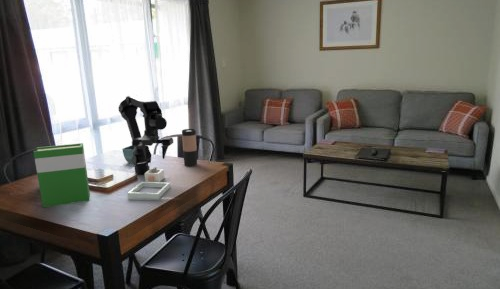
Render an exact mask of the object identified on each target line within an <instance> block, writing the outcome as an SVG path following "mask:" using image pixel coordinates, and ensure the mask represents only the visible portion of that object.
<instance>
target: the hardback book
mask: <svg viewBox="0 0 500 289" xmlns="http://www.w3.org/2000/svg"><path fill="white" fill-rule="evenodd" d="M33 158H34V162H35V168H36V174H37V180H38V185H39V191H40V198H41V204H42V208H47V207H54V206H62V205H68V204H75V203H82V202H88V201H90V199H91V197H90V196H91V193H90V185H89V179H88V178H89V177H88V172H87V164H86V156H85V149H84V143H83V142H82V143H70V144H60V145H50V146H48V145H47V146H39V147H36V150H33Z"/></svg>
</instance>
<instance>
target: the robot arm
mask: <svg viewBox="0 0 500 289" xmlns="http://www.w3.org/2000/svg"><path fill="white" fill-rule="evenodd" d="M138 108H139V109H140V110H139V111H140V112H141V113H142V114H143V115H142V118H143V119H144V120H143V121H144V122H143V123H144V129H145V130H144V132H143V133H144V134H143V135H142V134H141V131H140V128H139V125H138V121H137V118H136V117H137V115H138V114H137V113H138ZM118 112H119V113H120V116H121V118H123V120H125V121H126V124H127V127H128V130H129V133H130V138H131V145H132V146H134V150H133V157H132V159H131V163H130V164H131V165H132V166H134V172H135V175H138V176H143V175H144V176H145V173H146V172H147V171H148V170H150V169H151V167H150V165H149V164H151V162H152V153H151V150H150V147H151V146H153V144H161V151H162V153H161V154H162V155H161V156H162V159H163V160H165V159H166V158H165V157H166V154H167V151H168V148H169V147H170V146H171V145H173V144H174V138H173V137H168V136H167V137H163V138H162V139H161V138H160V136H159V130H160V131H161V130H164V129H166V127H167V124H168V123H167V119H166V118H165V117H163V113H162V110H161V108H160V105H159V103H158V102H157V100H153V99H148V100H147V99H144V98H142V97H139V96H138V95H135V94H134V95H133V94H132V95H127V96H125V99H124V100H122V101H121V102H120V103H119V106H118Z"/></svg>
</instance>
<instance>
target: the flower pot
mask: <svg viewBox="0 0 500 289" xmlns="http://www.w3.org/2000/svg"><path fill="white" fill-rule="evenodd" d="M133 150H134V146H132V144H131V145H129V146H126V147H123V148H122V154H123V157H124V160H125V161H126V162H127V164H132V163H131V159H132V157H133Z"/></svg>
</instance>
